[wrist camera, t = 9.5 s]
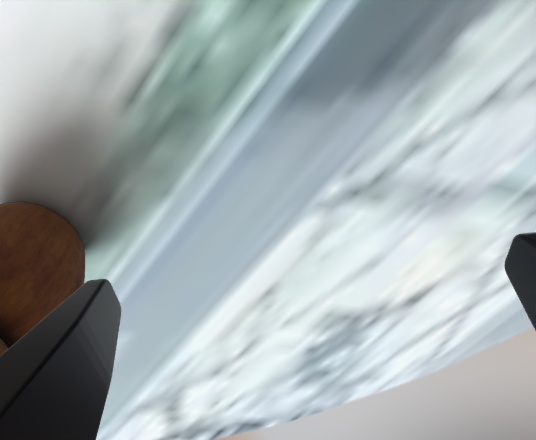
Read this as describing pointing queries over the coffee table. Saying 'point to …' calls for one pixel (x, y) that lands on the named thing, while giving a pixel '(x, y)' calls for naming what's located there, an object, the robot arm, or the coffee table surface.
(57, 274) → the wooden figurine
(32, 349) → the robot arm
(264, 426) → the coffee table surface
